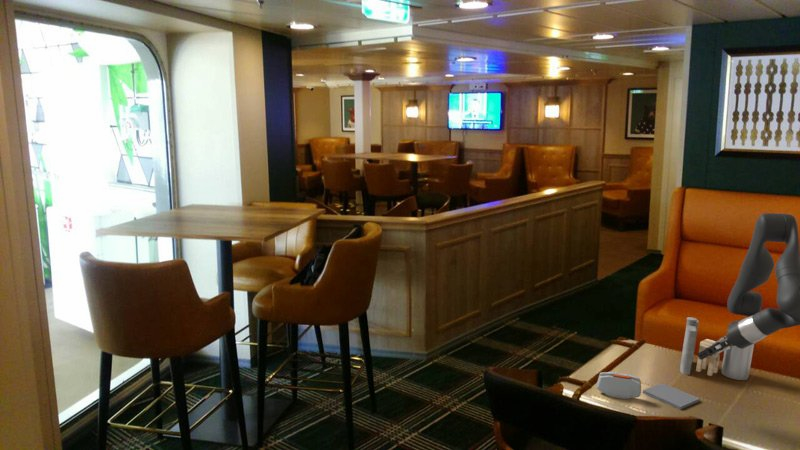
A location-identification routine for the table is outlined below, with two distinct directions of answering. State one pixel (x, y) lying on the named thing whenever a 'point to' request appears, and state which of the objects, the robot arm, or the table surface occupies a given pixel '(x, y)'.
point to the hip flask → (689, 345)
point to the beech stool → (712, 361)
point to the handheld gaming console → (619, 385)
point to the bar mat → (671, 396)
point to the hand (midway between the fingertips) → (703, 354)
